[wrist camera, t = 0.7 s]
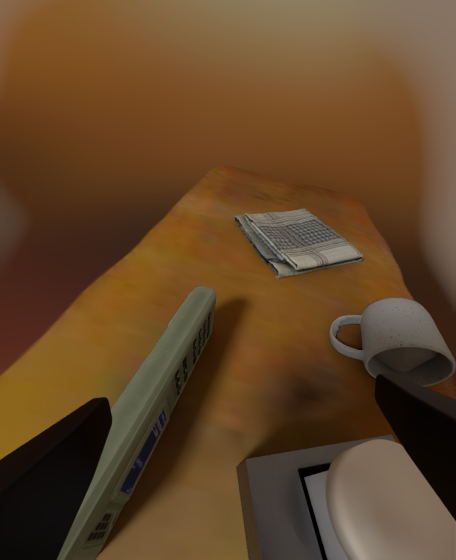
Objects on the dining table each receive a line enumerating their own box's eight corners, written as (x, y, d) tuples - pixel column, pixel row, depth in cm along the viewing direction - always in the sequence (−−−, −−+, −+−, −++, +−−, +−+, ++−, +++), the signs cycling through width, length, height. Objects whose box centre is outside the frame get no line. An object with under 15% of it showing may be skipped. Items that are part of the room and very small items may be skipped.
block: (402, 336, 31) (445, 300, 26) (420, 396, 25) (479, 365, 20) (325, 313, 32) (351, 275, 27) (326, 365, 27) (359, 329, 21)
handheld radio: (217, 330, 28) (8, 754, 11) (192, 320, 29) (-43, 706, 11) (222, 292, 23) (-134, 932, 6) (192, 282, 24) (-208, 835, 7)
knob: (407, 567, 14) (512, 592, 9) (323, 593, 13) (397, 636, 8) (358, 452, 18) (415, 432, 13) (289, 464, 17) (327, 447, 12)
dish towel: (303, 213, 53) (308, 200, 51) (361, 265, 42) (371, 251, 40) (229, 222, 46) (231, 207, 44) (275, 285, 35) (281, 270, 33)
